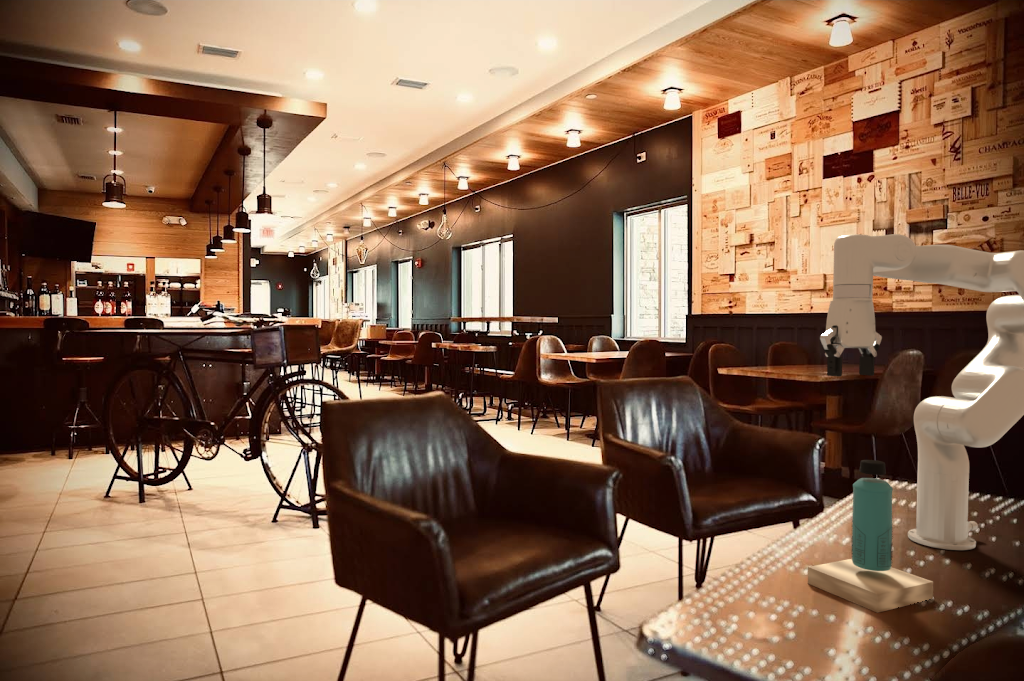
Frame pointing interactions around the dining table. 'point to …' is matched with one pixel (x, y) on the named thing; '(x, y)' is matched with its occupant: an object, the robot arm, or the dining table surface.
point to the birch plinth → (870, 585)
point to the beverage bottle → (872, 519)
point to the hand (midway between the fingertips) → (850, 375)
